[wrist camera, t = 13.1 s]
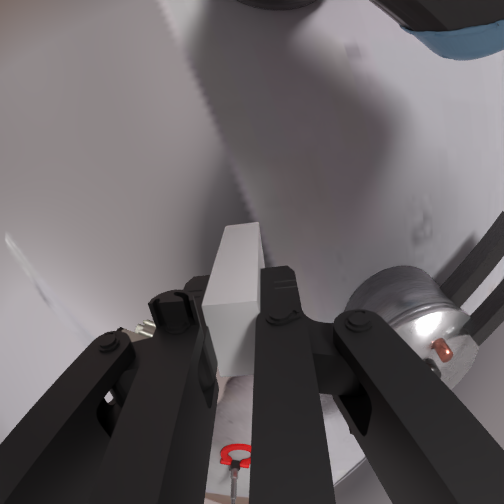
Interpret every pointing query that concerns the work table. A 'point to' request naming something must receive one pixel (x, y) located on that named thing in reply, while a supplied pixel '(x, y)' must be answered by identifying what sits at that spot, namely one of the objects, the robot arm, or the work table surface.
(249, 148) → the work table surface
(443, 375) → the lid
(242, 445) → the tow hook
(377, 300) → the pot
